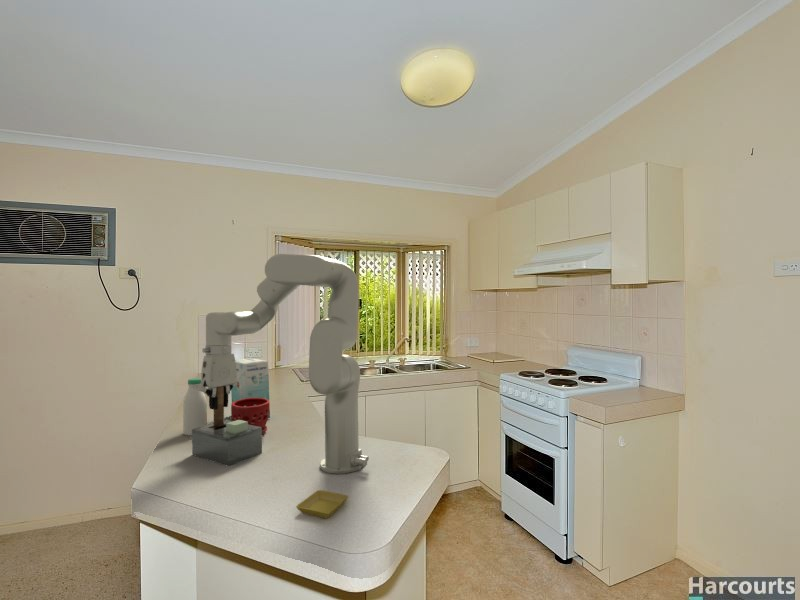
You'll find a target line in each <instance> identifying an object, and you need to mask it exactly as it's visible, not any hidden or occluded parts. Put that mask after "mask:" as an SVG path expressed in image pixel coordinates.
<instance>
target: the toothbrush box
mask: <svg viewBox="0 0 800 600" xmlns="http://www.w3.org/2000/svg"><path fill="white" fill-rule="evenodd" d="M235 361H236V370H237V382H238V383H237V385H235V386H234V387H233V388H232V389H231V391H230V394H231V404H232V403H233V402H235V401H237V400H241V399H246V398H264V399H268V400H269V401H270V381H269V380H270V379H269V378H270V377H269V361H268V360H264V359H258V358H254V357H253V358H252V357H251V358H249V357H248V358H241V359H235ZM254 406H257V405H254ZM244 407H246V405H245V406H244ZM268 419H271V410H270V407H269V416H268Z"/></svg>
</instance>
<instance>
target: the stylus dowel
mask: <svg viewBox="0 0 800 600" xmlns="http://www.w3.org/2000/svg"><path fill="white" fill-rule="evenodd" d="M216 397H217V398H218V408H217V409H216V410H213V423H214V426H222V425H224V420H225V407H224V386H222V387H217V388H216Z"/></svg>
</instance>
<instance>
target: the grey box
mask: <svg viewBox="0 0 800 600" xmlns="http://www.w3.org/2000/svg"><path fill="white" fill-rule="evenodd" d="M229 422H233V421H232V420H231V419H230V420H229V419H224V425H222V426H214V422H213V423H210V424H207V425H206V426H202V427H199V428H195V429H192V436H191V437H192V439H191V440H192V443H191V446H192V447H191V450H192V451H191V453H192V454H193V455H192V454H191V455H192V456H194V455H196V456H195V457H197V456H199V457H198V458H201V457H202V458H201V459H204V458H205V460H207V459H208V460H207V461H210V460H211V461H210V462H213V461H214V463H217V464H221V465H223V466H226V465H227V466H226V467H228V466H231V465H234V464H237V463H239V462H241V461H244V460H247V459H249V458H252V457H255V456H257V455H260V454H262V453H263V434H262V427H258V426H253V425H249V424H248V430H246V431H243V432H240V433H237V434H233V433H228V432H226V423H229Z"/></svg>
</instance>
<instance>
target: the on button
mask: <svg viewBox="0 0 800 600" xmlns="http://www.w3.org/2000/svg"><path fill="white" fill-rule="evenodd" d="M246 430H248V422H247V421H242V420H236V421H233V422H229V423H226V432H228V433H233V434H237V433H240V432H243V431H246Z"/></svg>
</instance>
